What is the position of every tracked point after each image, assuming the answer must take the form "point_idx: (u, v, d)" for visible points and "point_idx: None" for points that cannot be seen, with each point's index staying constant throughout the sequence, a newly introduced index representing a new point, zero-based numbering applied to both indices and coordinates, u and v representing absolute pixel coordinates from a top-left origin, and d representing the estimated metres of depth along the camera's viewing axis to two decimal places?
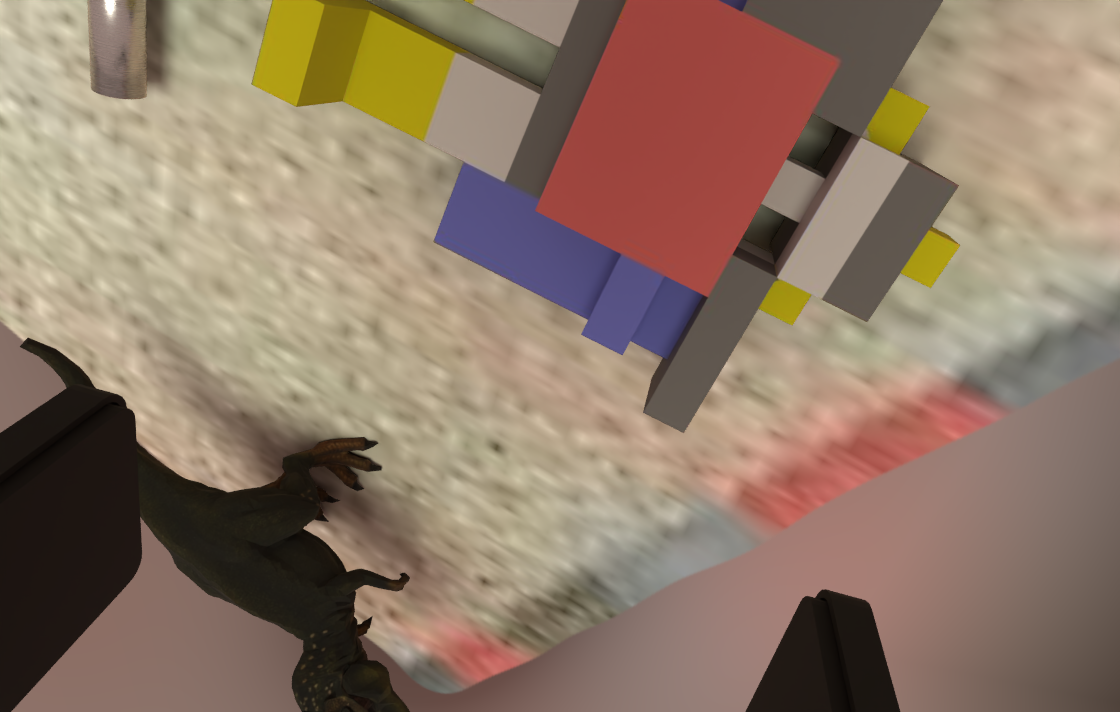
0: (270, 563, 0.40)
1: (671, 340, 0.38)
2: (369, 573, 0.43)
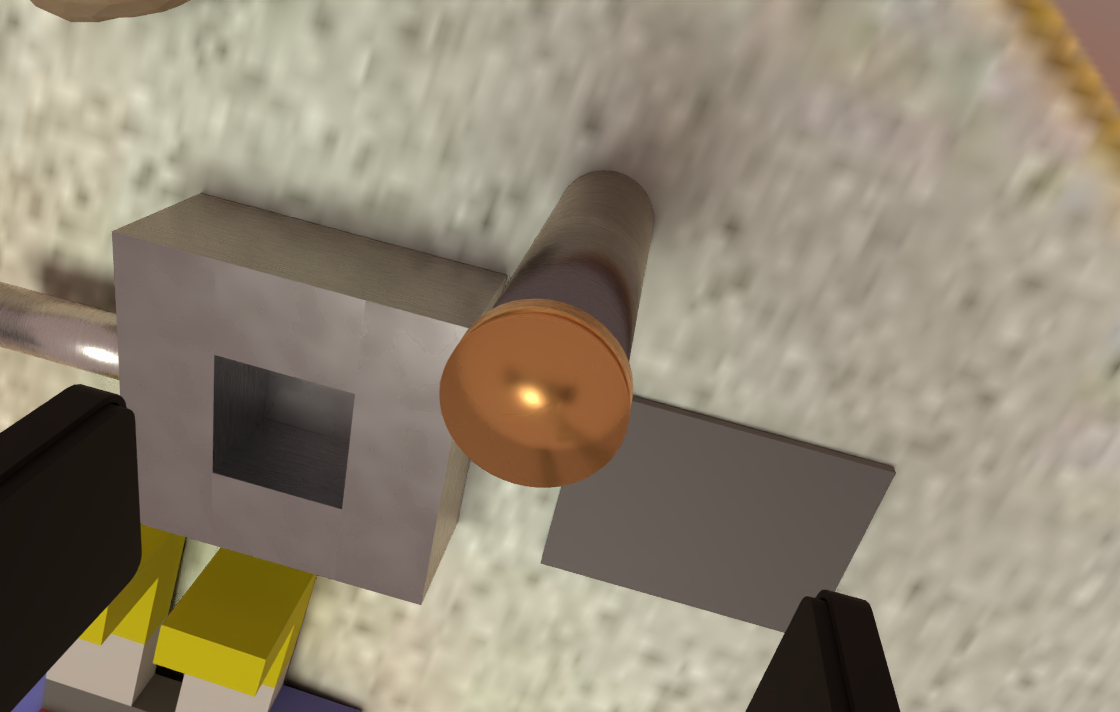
0: None
1: None
2: None
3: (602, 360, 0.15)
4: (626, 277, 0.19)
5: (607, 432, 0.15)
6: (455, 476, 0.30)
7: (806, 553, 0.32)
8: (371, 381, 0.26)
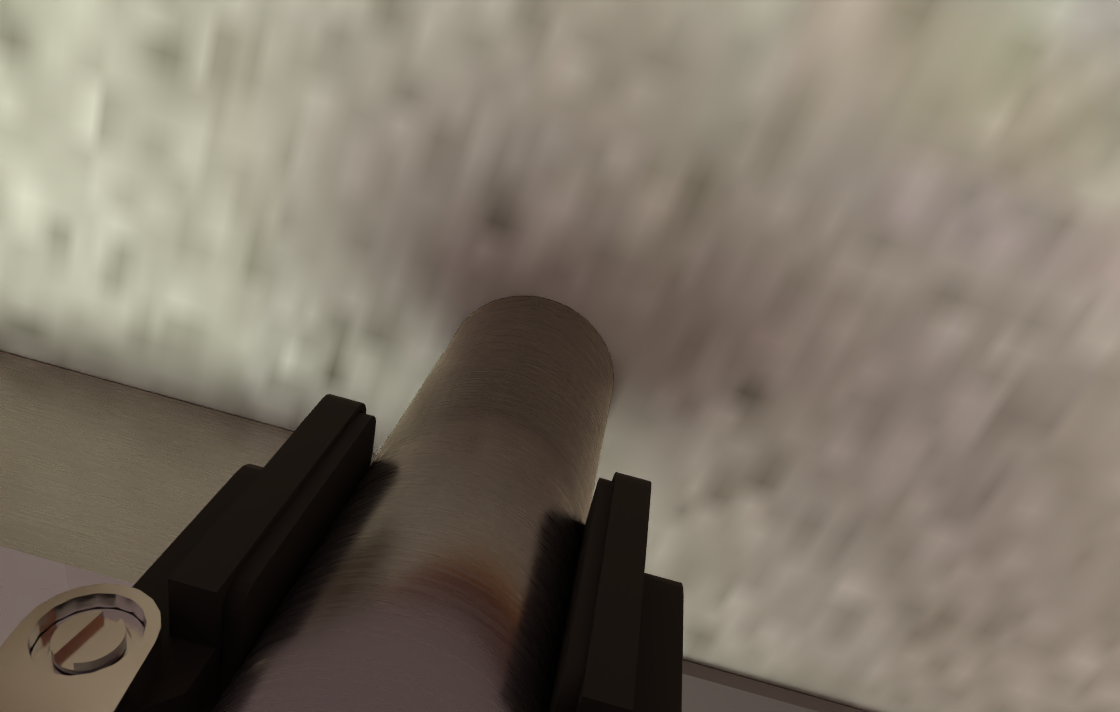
0: None
1: None
2: None
3: None
4: (508, 691, 0.08)
5: None
6: None
7: None
8: None
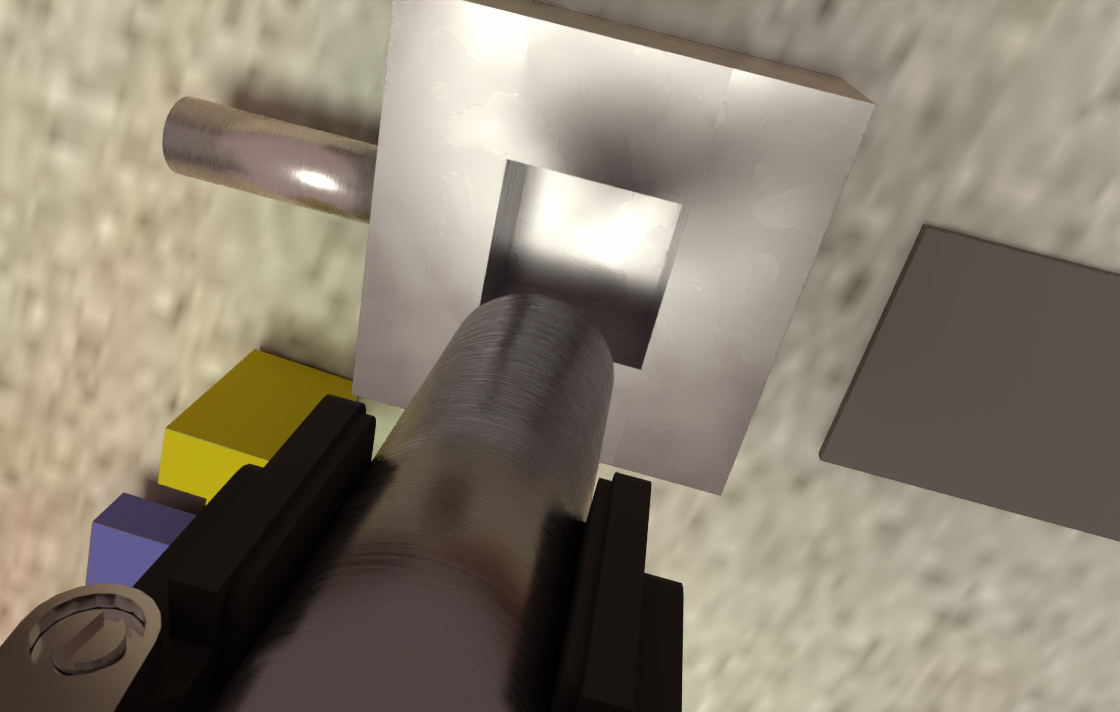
0: None
1: None
2: None
3: None
4: (509, 688, 0.08)
5: None
6: None
7: None
8: (717, 187, 0.20)
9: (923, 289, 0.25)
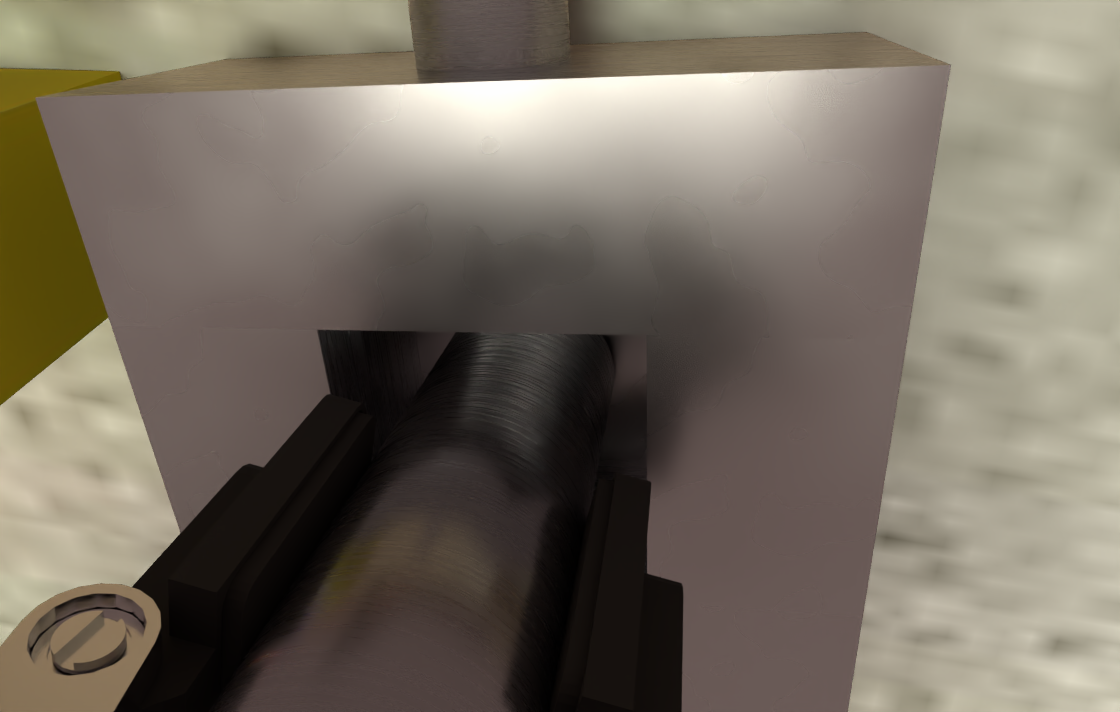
0: None
1: None
2: None
3: None
4: (509, 687, 0.08)
5: None
6: None
7: None
8: (685, 626, 0.13)
9: None
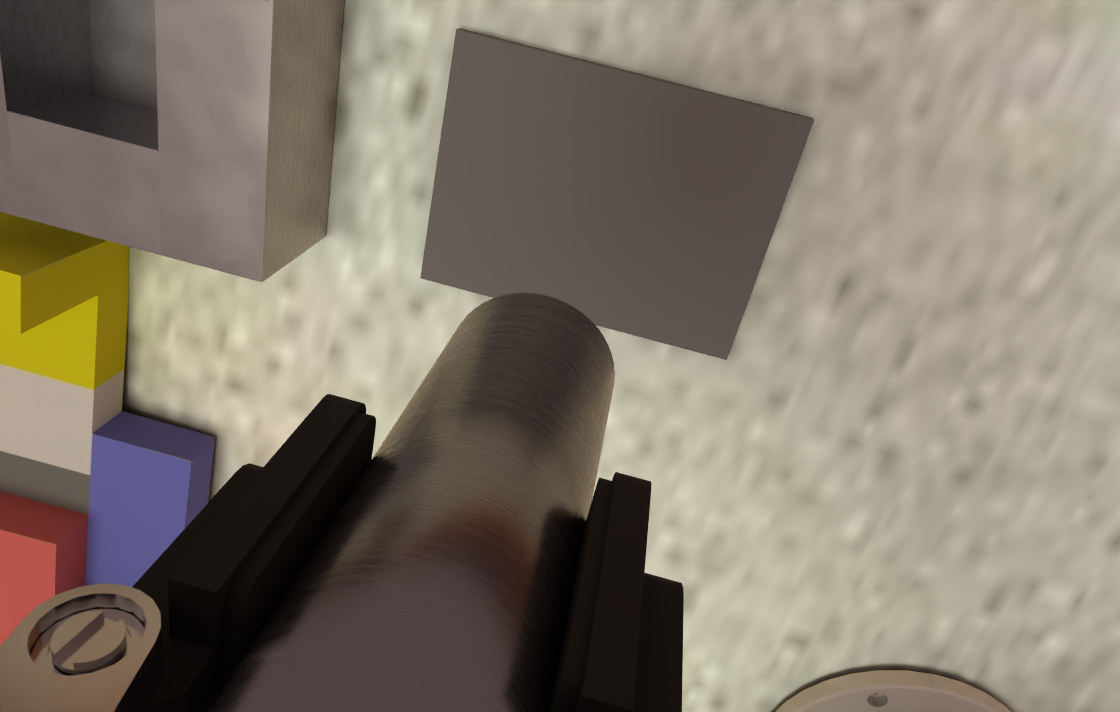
0: None
1: None
2: None
3: None
4: (510, 688, 0.08)
5: None
6: (300, 130, 0.25)
7: (717, 241, 0.27)
8: None
9: (468, 94, 0.26)
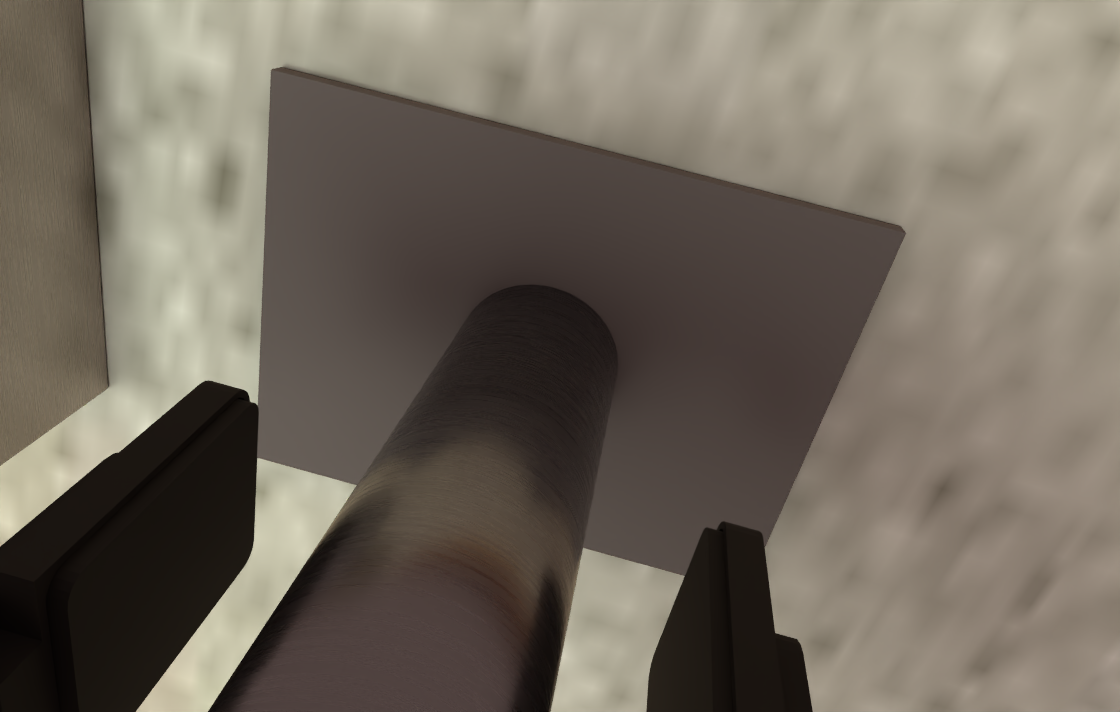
0: None
1: None
2: None
3: None
4: (520, 645, 0.08)
5: None
6: None
7: (730, 421, 0.16)
8: None
9: (302, 179, 0.15)
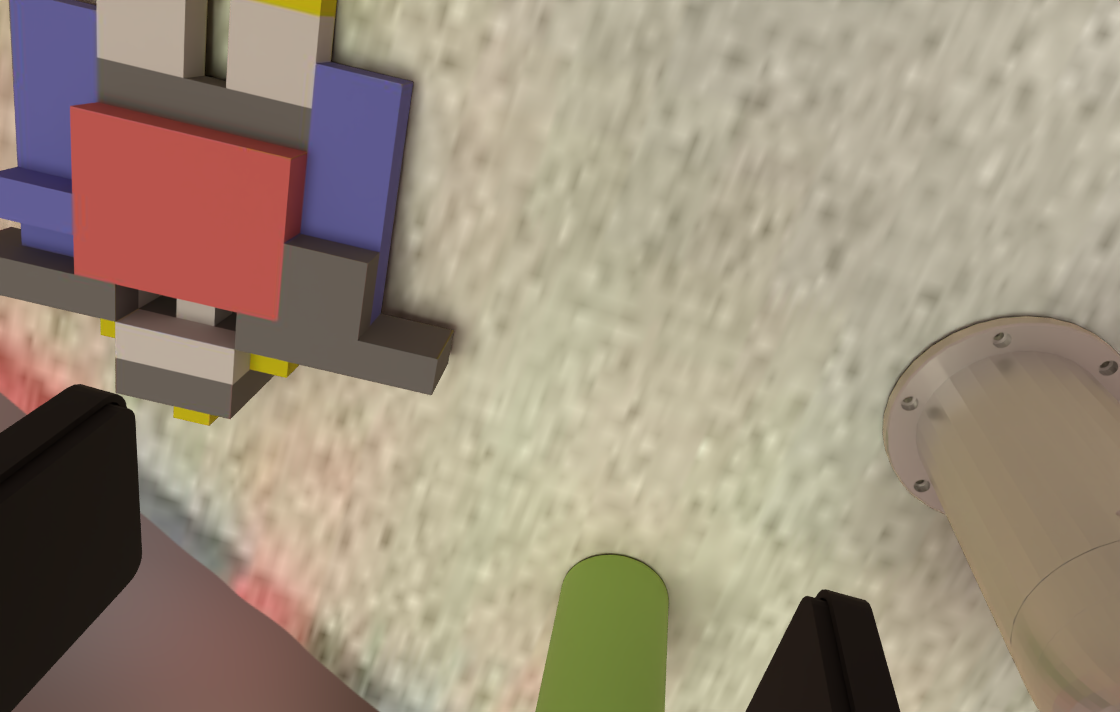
0: None
1: (38, 244, 0.42)
2: None
3: None
4: None
5: None
6: None
7: None
8: None
9: None
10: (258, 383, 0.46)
